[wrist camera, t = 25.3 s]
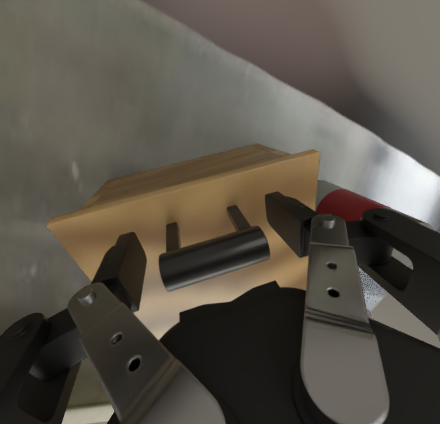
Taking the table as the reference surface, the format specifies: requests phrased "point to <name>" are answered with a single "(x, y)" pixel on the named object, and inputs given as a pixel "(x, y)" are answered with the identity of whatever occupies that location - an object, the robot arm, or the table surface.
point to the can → (353, 208)
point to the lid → (199, 237)
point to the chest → (182, 173)
